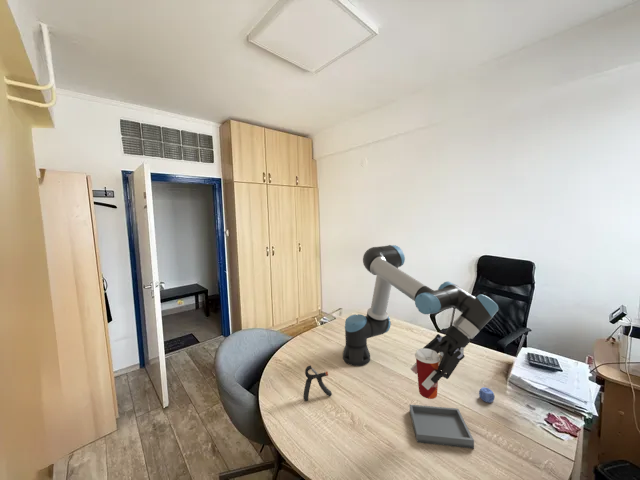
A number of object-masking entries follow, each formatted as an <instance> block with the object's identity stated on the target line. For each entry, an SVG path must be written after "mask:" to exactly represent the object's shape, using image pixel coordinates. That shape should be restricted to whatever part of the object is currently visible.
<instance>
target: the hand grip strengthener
mask: <svg viewBox="0 0 640 480" xmlns="http://www.w3.org/2000/svg"><path fill="white" fill-rule="evenodd" d="M310 370H311V371H312V372H313V374H310V373H309V371H310ZM304 373H305V374H304V375H305V377H306V378H307V379H306V380H305V384H304V389H303V400H304V402H308V401H309V394H310V389H311V385H312V382H313V380H314V379H315V380H317V384H318V385H319V387H320V389H321V391H323V393H325V395H326V396H328V397H329V398H330V397H331V396H332V395H333V393H332V390H330V389H329V388H328V387H327V386H326V385H325V384H324V382H323V378H324V377H328V376H329V373H328V371H324V372H320V373H318V371H316V370H315V368H313V367H312V365H308V366H307V367H306V368H305V370H304Z"/></svg>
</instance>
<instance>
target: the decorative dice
mask: <svg viewBox="0 0 640 480" xmlns="http://www.w3.org/2000/svg"><path fill="white" fill-rule="evenodd" d="M478 395H479V397H480V399H481V400H482V401H483V402H485V403H489V404H490V403H493V402H494V400H495V393H494V391H492V389H490V388H488V387H486V386H485V387H480V389H479V391H478Z"/></svg>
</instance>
